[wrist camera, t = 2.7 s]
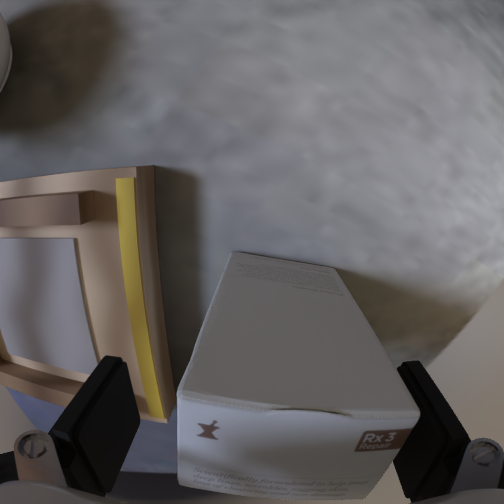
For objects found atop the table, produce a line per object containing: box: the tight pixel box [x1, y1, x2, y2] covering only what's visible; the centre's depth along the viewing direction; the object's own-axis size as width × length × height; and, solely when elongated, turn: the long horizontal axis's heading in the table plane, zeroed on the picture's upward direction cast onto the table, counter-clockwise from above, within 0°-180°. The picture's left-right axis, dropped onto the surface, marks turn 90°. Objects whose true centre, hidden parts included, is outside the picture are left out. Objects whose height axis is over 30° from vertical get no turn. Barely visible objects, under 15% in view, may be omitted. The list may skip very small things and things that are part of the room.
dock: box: [0, 165, 176, 423], centre depth 18 cm, size 16×16×4 cm
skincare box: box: [177, 252, 420, 500], centre depth 13 cm, size 6×4×12 cm
